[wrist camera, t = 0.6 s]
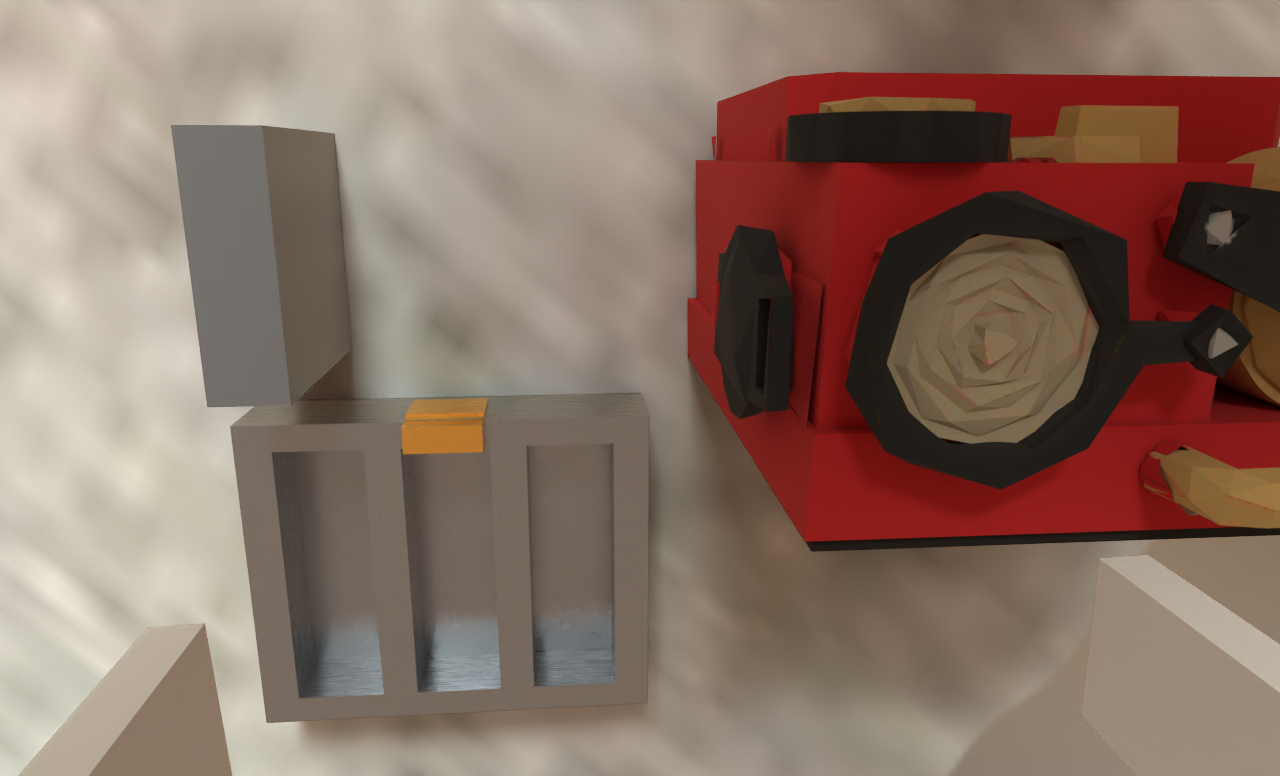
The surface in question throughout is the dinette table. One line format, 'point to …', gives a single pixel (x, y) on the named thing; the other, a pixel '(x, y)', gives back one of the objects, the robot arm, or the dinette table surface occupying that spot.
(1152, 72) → the dinette table surface
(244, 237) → the panel
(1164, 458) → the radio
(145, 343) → the dinette table surface
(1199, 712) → the robot arm
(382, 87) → the dinette table surface
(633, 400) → the rack
